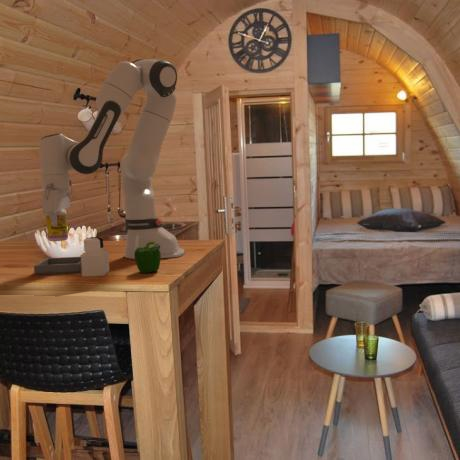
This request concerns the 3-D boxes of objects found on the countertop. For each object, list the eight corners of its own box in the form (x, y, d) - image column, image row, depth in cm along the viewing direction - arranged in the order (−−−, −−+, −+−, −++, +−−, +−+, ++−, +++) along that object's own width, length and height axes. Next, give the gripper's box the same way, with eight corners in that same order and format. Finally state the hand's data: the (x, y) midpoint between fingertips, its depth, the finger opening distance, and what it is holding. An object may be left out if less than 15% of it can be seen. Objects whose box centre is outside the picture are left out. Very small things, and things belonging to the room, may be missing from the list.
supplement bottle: (49, 242, 182) (46, 203, 181) (46, 239, 188) (43, 202, 186) (70, 240, 185) (67, 202, 184) (66, 237, 191) (63, 200, 189)
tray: (89, 264, 195) (89, 256, 194) (80, 272, 182) (79, 263, 182) (47, 266, 195) (46, 258, 194) (34, 274, 182) (33, 265, 182)
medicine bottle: (88, 272, 183) (85, 236, 181) (109, 271, 182) (106, 235, 181) (81, 277, 176) (78, 240, 174) (104, 276, 175) (101, 239, 174)
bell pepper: (130, 274, 177) (128, 243, 175) (143, 268, 184) (141, 239, 183) (153, 275, 174) (151, 244, 172) (165, 269, 181) (163, 239, 180)
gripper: (55, 184, 174) (58, 228, 176) (73, 181, 194) (76, 220, 196) (35, 185, 174) (38, 228, 176) (55, 181, 194) (58, 220, 196)
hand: (58, 224), depth 186 cm, fingers closed on supplement bottle, 7 cm apart
